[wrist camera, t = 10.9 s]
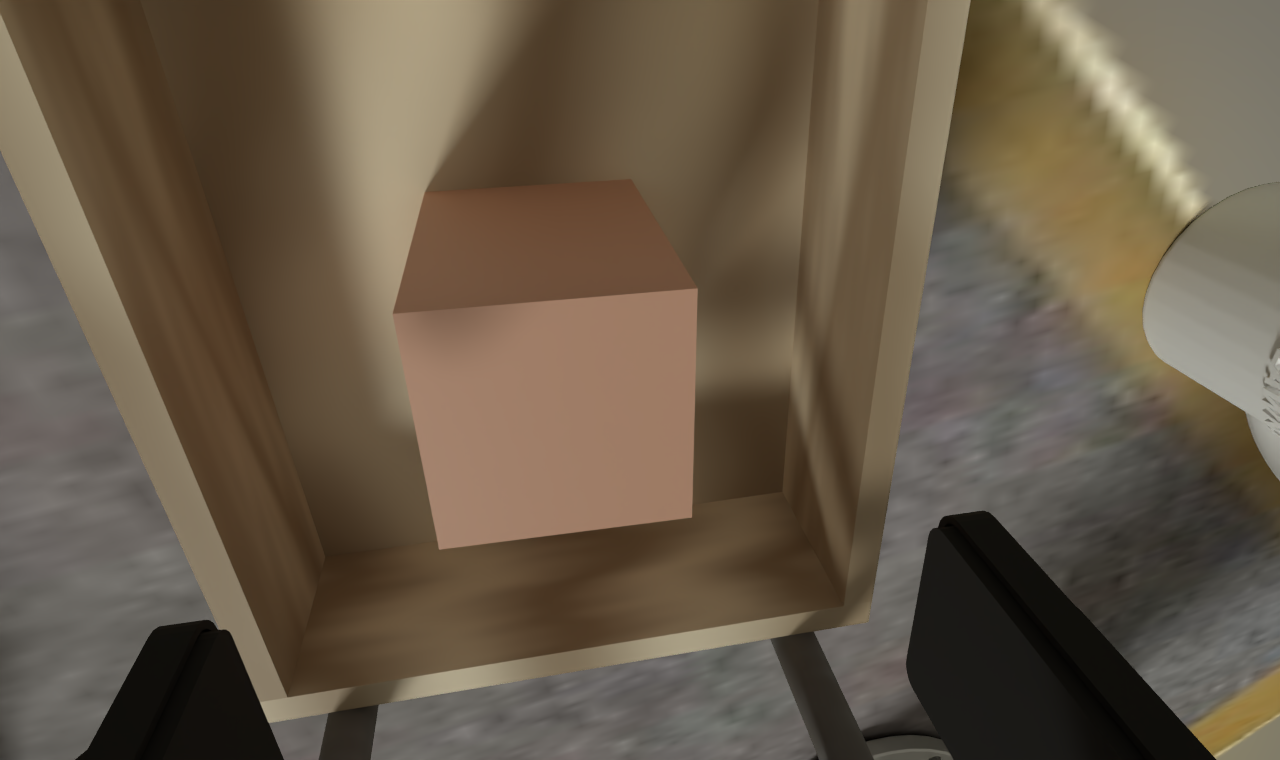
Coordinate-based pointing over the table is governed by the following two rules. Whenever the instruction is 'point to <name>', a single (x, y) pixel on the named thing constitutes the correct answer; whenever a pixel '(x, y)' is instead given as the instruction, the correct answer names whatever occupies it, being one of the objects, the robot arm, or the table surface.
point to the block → (548, 361)
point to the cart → (371, 276)
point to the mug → (1226, 308)
